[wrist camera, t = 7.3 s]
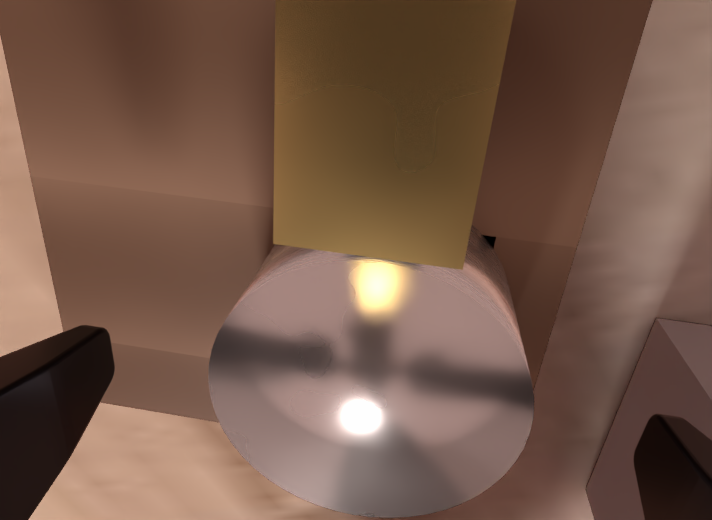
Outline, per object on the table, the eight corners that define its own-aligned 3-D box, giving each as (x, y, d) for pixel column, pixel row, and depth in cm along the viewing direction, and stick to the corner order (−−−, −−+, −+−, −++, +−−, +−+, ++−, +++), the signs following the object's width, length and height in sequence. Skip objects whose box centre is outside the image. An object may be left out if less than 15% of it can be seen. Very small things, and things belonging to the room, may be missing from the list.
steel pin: (473, 327, 15) (496, 540, 9) (300, 302, 16) (214, 490, 10) (512, 153, 13) (575, 290, 7) (306, 130, 13) (199, 238, 7)
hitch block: (493, 366, 16) (528, 608, 10) (152, 315, 17) (-18, 504, 11) (612, -102, 11) (871, -247, 4) (99, -140, 12) (-313, -303, 5)
